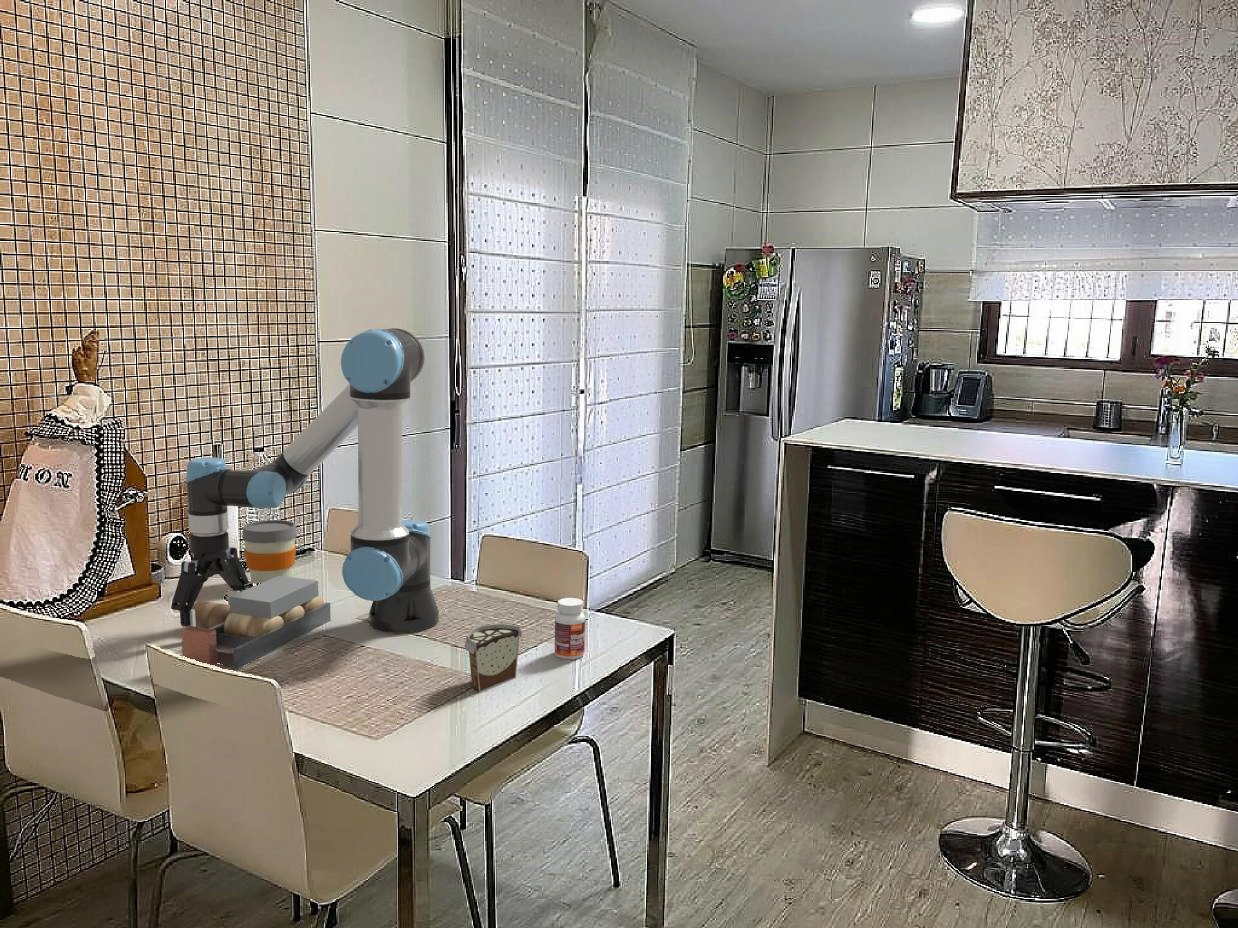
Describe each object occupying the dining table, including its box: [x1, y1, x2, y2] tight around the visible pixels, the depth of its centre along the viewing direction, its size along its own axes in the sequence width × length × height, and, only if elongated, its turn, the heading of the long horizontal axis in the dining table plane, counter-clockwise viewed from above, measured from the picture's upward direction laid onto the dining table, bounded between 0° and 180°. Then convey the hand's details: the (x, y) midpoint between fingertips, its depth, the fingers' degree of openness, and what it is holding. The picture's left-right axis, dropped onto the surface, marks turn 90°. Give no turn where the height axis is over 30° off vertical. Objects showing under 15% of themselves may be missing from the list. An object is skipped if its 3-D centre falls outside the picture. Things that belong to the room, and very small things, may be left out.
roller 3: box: [278, 606, 305, 623], centre depth 198 cm, size 10×6×6 cm, turn 73°
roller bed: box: [181, 602, 332, 670], centre depth 192 cm, size 13×34×8 cm, turn 163°
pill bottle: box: [554, 597, 586, 661], centre depth 189 cm, size 6×6×11 cm
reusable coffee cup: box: [242, 519, 298, 584], centre depth 229 cm, size 13×13×15 cm
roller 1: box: [192, 600, 230, 629], centre depth 198 cm, size 9×6×6 cm, turn 73°
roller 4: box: [299, 595, 325, 613], centre depth 205 cm, size 10×6×6 cm, turn 73°
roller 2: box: [224, 613, 284, 637], centre depth 192 cm, size 10×6×6 cm, turn 73°
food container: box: [464, 623, 523, 694], centre depth 175 cm, size 12×6×10 cm, turn 141°
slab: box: [229, 576, 320, 619], centre depth 198 cm, size 10×16×4 cm, turn 163°
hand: (213, 629), depth 198 cm, fingers open, 13 cm apart
